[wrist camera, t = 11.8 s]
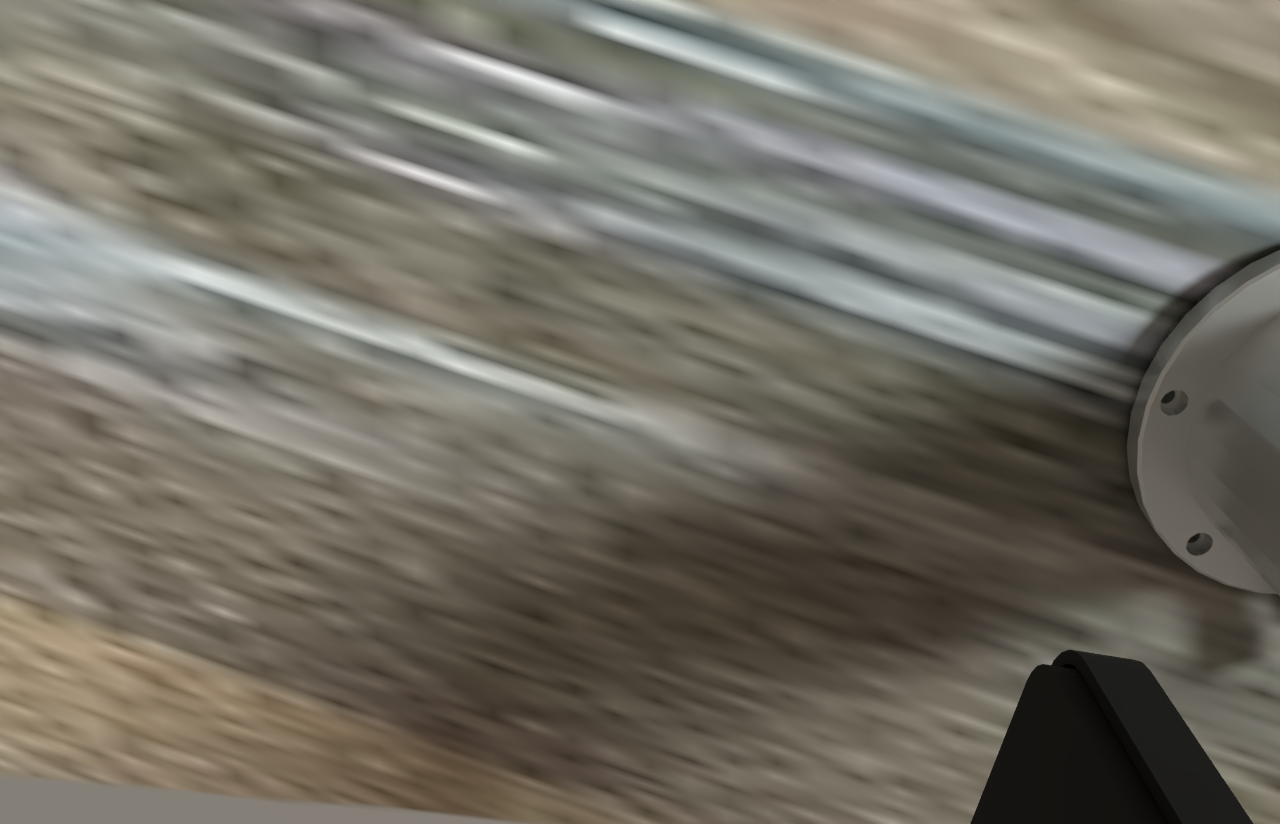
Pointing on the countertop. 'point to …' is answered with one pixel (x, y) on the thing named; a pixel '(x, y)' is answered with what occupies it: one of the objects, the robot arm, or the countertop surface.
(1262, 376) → the robot arm
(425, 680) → the countertop surface
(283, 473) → the countertop surface
